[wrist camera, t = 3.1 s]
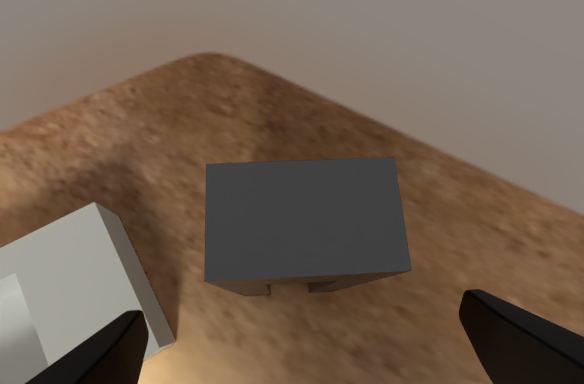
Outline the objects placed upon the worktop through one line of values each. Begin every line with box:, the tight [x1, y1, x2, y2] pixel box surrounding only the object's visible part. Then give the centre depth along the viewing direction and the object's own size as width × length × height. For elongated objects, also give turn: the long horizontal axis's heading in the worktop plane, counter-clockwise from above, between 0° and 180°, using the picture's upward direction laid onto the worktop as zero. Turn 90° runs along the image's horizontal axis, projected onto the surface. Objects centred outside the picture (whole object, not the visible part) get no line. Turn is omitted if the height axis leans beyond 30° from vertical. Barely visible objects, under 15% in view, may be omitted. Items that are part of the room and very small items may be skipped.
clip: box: [204, 157, 412, 296], centre depth 15 cm, size 3×5×12 cm, turn 93°
